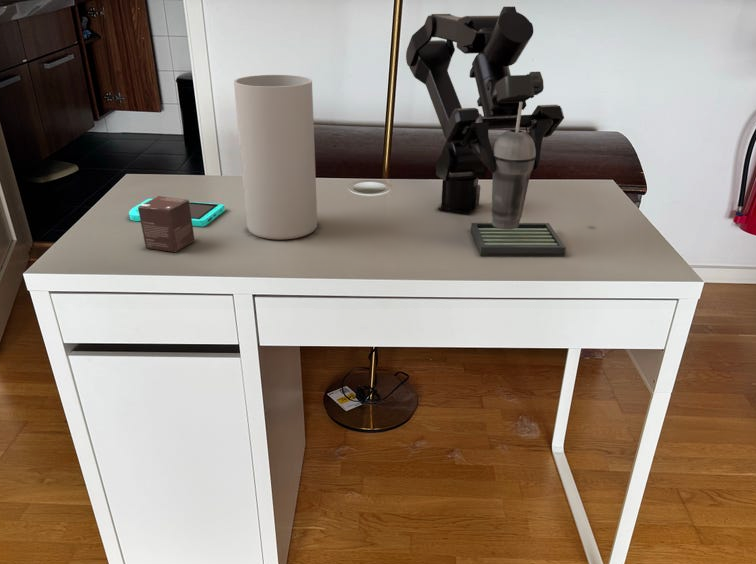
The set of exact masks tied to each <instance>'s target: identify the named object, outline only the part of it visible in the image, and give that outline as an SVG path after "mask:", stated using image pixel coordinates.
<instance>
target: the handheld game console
mask: <svg viewBox="0 0 756 564" xmlns="http://www.w3.org/2000/svg"><path fill="white" fill-rule="evenodd" d="M152 199H153V198H147V199H145V200H143V201H142V202H141V203H139V204H137V205H136V206H134V207H132V208H131V209H130V210H129V212H128V215H129V216H128V217H129V219H130V220H131V221H133V222H141V220H140V216H139V211H138V207H139V206H140V205H142V204H144V203H146V202H148V201H150V200H152ZM189 206H190V212H191V219H192V225H193V227H202V228H203V227H206V226H208V225H209V224H210V223H211V222H213V221H214V220H215V219H216V218H217V217H219V216H220V215H222V214H223V213H224V212H225V211H226V208H225V204H224V203H212V202H211V203H208V202H198V201H189Z"/></svg>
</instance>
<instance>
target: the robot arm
mask: <svg viewBox="0 0 756 564" xmlns="http://www.w3.org/2000/svg"><path fill="white" fill-rule="evenodd" d="M533 35H534V25H533V23H532V22H531V21H530V19H528V18H527V17H526V16H525V15H524V14H522V13H520V12H518V11H517V9H516V6H503V7H502V9H501V11H500V12H499V14H498V15H465V16H456V15H454V14H451V13H431V14H429V15H427V17H426V19H425V21H424V24H423V25H422V26H421V27H420V28H419V29H417V31H415V32H414V33H413V34H412V35H411V37H410V40H409V43H408V45H407V49H406V52H405V61H406V65H407V66H408V67H409V69H410V72H411V74H412V76H413V77H414V78H415V79H416V80H418V81H419V82H421V83H422V84H424V85H425V87H426V90H427V93H428V95H429V98H430V100H431V103H432V106H433V109H434V111H435V114H436V116H437V119H438V122H439V125H440V127H441V130H442V133H443V135H444V138H445V140H444V143H443V147H442V150H441V154H440V155H439V157H438V159H437V161H436V163H435V175H436V177H438V178H439V179H441V180H442V183H441V184H442V185H441V200H440V202H441V203H440V205H439V206H438V207H437V209H438V211H443V212H450V213H457V214H462V215H463V214H464V215H470V214H472V213H473V212H474V211H475V210H476V209H477V208H478V207H479V205H480V198H481V197H480V196H481V185H480V184H479V179H486V177H487V175H488V171H489V172H490V173H491V174H493V173H494V172H495V171H496V164H495V159H494V155H493V152H492V149H493V147H492V145H491V140H490V137H489V130H492V131H493V130H511V129H516V123H517V116H518V109H519V102H523V104H522V111H524V110H525V109H526V107H527V102H526V101H528V100H529V99H533V98H535V96H538V95H540V94H541V93H542V92H544V88H545V87H544V79H543V75H542V73H541V71H530V72H528V73H527V74H517V75H516V74H514V75H513V74H511V70H510V67H511V66H513V65H515V64H516V63H517V62H518V60H519V58H520V57H521V55H522V53H523V52H524V51H525V49H526V47H527V45H528V44H529V42H530V41H531V39H532V37H533ZM432 38H439V39H440V40H439V39H438V40H437V39H436V40H433V39H432ZM454 43H456V47H455V45H454ZM456 48H457V49H458V50H459V51H461V52H462V53H463V54H464V55H467V54H468V55H469V54H471V55H472V54H476V56H475V57H474V59H473V60H472V62H471V66H472V67H471V68H470V70H469V78H470V79H475V82H476V88H477V92H478V99H477V100H476V103H477V107H478V108H479V107H481V110H482V113H483V115H482V114H481V113H480V112H479V109H478V108H476V107H463V106H462V104H461V101H460V98H459V97H458V94H457V91H456V89H455V87H454V84H453V81H452V79H451V76H450V74H449V71H448V70H449V68H450V65H451V61H452V58H453V56H454V54H455V52H456ZM564 119H565V115H564V111H563V108H562V107H561V105H558V104H538V105H537V106H536V107H535V109H534V110H533V111H532V113H531V114H521V119H520V126H519V129H524V130H525V132H526V133H527V134H529V135H530V137H531V138H532V139H533V142H534V144H535V150H536V159H535V162H534V166H533V169H532V170H534V171H537V170H538V169H539V167H540V161H541V152H542V145H543V144H542V143H543V141H544V140H543V139H544V138H548V137H551V136H552V135H553V134H554V132H555V131H556V129H557V128H558V127H559V126H560V125H561V123H562V122H563V121H564Z"/></svg>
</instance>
